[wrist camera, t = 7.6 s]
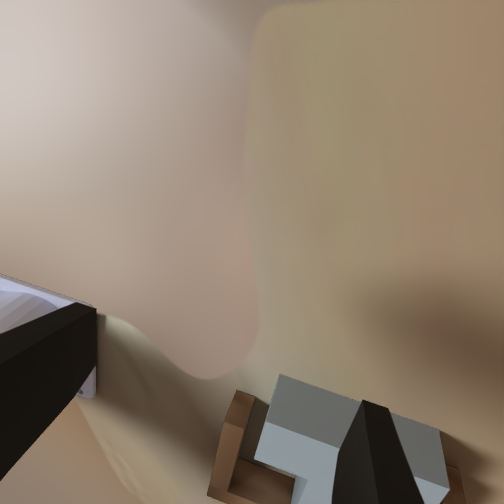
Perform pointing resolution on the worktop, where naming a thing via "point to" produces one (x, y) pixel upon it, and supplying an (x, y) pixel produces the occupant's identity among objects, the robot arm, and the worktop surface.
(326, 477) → the t block
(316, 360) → the worktop surface
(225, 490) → the walnut cradle
